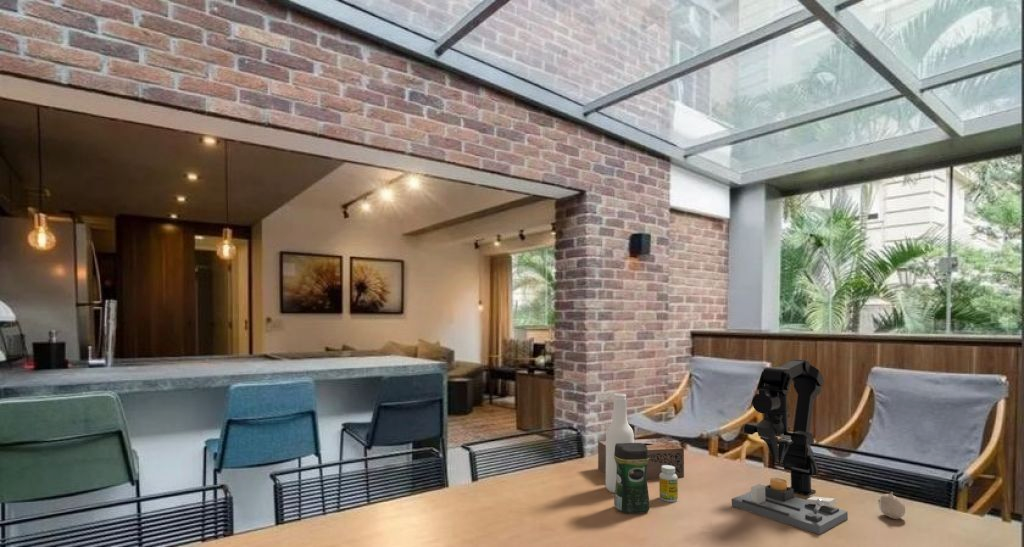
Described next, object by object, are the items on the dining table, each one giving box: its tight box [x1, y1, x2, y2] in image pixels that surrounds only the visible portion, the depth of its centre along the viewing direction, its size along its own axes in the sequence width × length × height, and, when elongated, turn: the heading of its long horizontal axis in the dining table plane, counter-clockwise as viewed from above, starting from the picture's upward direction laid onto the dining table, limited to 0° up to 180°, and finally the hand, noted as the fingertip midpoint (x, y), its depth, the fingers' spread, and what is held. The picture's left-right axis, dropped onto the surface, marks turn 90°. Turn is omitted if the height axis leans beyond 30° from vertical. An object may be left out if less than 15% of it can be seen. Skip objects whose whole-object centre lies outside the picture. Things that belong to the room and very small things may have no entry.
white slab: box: [806, 496, 837, 507], centre depth 145 cm, size 4×6×1 cm, turn 37°
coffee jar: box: [613, 443, 651, 514], centre depth 148 cm, size 10×8×19 cm
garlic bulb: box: [877, 491, 906, 520], centre depth 145 cm, size 7×6×8 cm
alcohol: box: [605, 392, 635, 494], centre depth 165 cm, size 9×9×30 cm
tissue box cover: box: [597, 438, 685, 480], centre depth 182 cm, size 26×14×10 cm, turn 103°
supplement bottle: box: [658, 465, 679, 503], centre depth 156 cm, size 5×5×10 cm
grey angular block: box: [750, 483, 766, 504], centre depth 149 cm, size 5×2×4 cm, turn 127°
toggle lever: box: [813, 499, 824, 514], centre depth 137 cm, size 2×2×4 cm
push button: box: [769, 477, 788, 492], centre depth 155 cm, size 4×4×3 cm
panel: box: [731, 484, 849, 535], centre depth 147 cm, size 18×24×4 cm
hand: (777, 462), depth 155 cm, fingers closed
